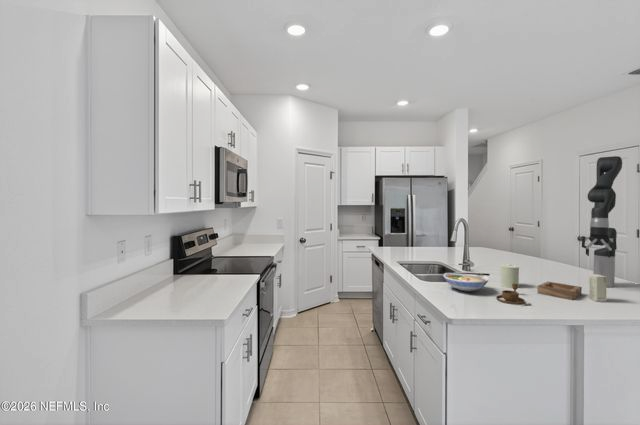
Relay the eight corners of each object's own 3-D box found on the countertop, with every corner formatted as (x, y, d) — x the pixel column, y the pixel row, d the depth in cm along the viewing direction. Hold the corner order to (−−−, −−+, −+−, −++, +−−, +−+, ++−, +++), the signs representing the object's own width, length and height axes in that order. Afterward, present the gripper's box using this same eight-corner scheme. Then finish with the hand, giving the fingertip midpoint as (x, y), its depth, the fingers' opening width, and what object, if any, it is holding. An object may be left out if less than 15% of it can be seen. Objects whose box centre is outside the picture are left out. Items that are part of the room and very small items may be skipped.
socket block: (547, 288, 182) (547, 281, 181) (581, 294, 170) (581, 287, 170) (537, 293, 172) (537, 285, 172) (572, 300, 160) (572, 291, 160)
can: (519, 285, 189) (519, 264, 188) (518, 289, 181) (519, 267, 180) (500, 283, 193) (501, 263, 193) (499, 286, 186) (499, 265, 185)
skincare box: (606, 302, 157) (607, 276, 157) (596, 301, 158) (597, 276, 157) (598, 298, 163) (599, 274, 163) (588, 298, 164) (588, 273, 164)
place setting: (485, 298, 165) (485, 286, 165) (513, 294, 173) (513, 283, 173) (518, 308, 149) (518, 295, 149) (547, 303, 157) (547, 291, 156)
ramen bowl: (441, 293, 172) (441, 277, 172) (440, 283, 193) (440, 269, 193) (495, 298, 164) (495, 281, 163) (487, 286, 185) (488, 272, 185)
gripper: (616, 227, 175) (615, 257, 175) (582, 225, 184) (581, 254, 184) (617, 227, 169) (616, 258, 169) (582, 225, 178) (581, 255, 178)
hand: (598, 256), depth 176 cm, fingers open, 8 cm apart
